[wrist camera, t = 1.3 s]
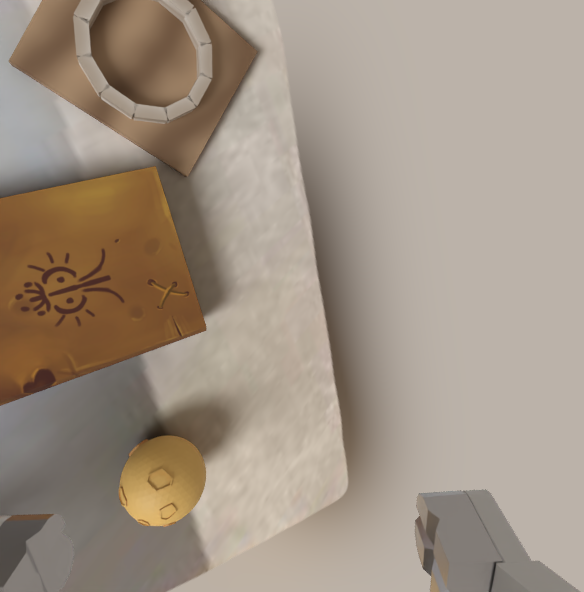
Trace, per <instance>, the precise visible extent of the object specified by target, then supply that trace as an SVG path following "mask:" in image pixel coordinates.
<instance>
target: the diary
mask: <svg viewBox="0 0 584 592" xmlns="http://www.w3.org/2000/svg"><path fill="white" fill-rule="evenodd" d="M203 331H206V324H205V321H204V318H203V315H202V312H201V309H200V305H199V302H198V299H197V296H196V293H195V289H194V286H193V283H192V280H191V277H190V274H189V270H188V267H187V264H186V261H185V258H184V254H183V251H182V248H181V245H180V242H179V239H178V235H177V232H176V229H175V226H174V223H173V219H172V216H171V213H170V210H169V207H168V204H167V200H166V197H165V194H164V191H163V188H162V184H161V181H160V178H159V175H158V172H157V169H156V166H154V167H149V168H144V169H139V170H134V171H129V172H125V173H120V174H115V175H110V176H105V177H100V178H96V179H91V180H86V181H81V182H76V183H71V184H66V185H62V186H57V187H52V188H47V189H42V190H37V191H33V192H28V193H23V194H18V195H13V196H8V197H4V198H0V406H1V405H4V404H6V403H9V402H12V401H15V400H17V399H20V398H23V397H25V396H28V395H31V394H34V393H36V392H39V391H42V390H45V389H47V388H50V387H53V386H56V385H58V384H61V383H64V382H66V381H69V380H72V379H75V378H77V377H80V376H83V375H86V374H88V373H91V372H94V371H97V370H99V369H102V368H105V367H108V366H110V365H113V364H116V363H118V362H121V361H124V360H127V359H129V358H132V357H135V356H138V355H140V354H143V353H146V352H149V351H151V350H154V349H157V348H159V347H162V346H165V345H168V344H170V343H173V342H176V341H179V340H181V339H184V338H187V337H190V336H192V335H195V334H198V333H201V332H203Z"/></svg>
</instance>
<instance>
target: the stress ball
mask: <svg viewBox="0 0 584 592" xmlns="http://www.w3.org/2000/svg"><path fill="white" fill-rule="evenodd" d="M205 481H206V468H205V463H204V460H203V458H202V456H201V454H200V452H199V450H198V449H197V448H196V447H195V446H194V445H193V444H192V443H191V442H189V441H188V440H186V439H184V438H181V437H177V436H170V435H167V436H160V437H156V438H153V439H151V440H148V439H146V440H144V441H142V442H141V443H139V444H138V445H137V446H136V447H135V448H134V449H133V450H132V451H131V452H130V453H129V459H128V460H127V462H126V464H125V466H124V468H123V471H122V474H121V479H120V487H119V498H120V501H121V504H122V506H124V507H125V508H126V510H127V511H128V513H129V514H130V515H131V516H132V517H133V518H134V519H136V520H137V521H138V523H140V524H142V525H144V526H149V525H150V526H163V525H164V527H165V526H168V525H172V524H175V523H176V521H178V520H180V519H182V518H183V517H184V516H186V515H187V514H188V513H189V512H190V511H191V510H192V509H193V508H194V507H195V505H196V504H197V502H198V501H199V499H200V497H201V495H202V492H203V490H204V486H205Z"/></svg>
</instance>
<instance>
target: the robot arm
mask: <svg viewBox="0 0 584 592" xmlns="http://www.w3.org/2000/svg"><path fill="white" fill-rule="evenodd" d="M416 507H417V509H418V512H419V515H420V516H419V517H418V518H417V519H416V520H415V537H416V546H417V550H418V554H419V558H420V561H421V564H422V567H423V569H424V570H425V571H426V572H427V573H428V574H429V575H430V576H431V585H430V592H580V591H579V590H577V589H576V588H575V587H573V586H572V585H571V584H569V583H568V582H567V581H565V580H564V579H563V578H561V577H560V576H559V575H557V574H556V573H555V572H553V571H552V570H551V569H549V568H548V567H547V566H545V565H544V564H543V563H541V562H540V561H531V559H530V557H529V556H528V554H527V552H526V551H525V549H524V547H523V546H522V545H521V542H520V541H519V539H518V538H517V536H516V534H515V533H514V531H513V529H512V528H511V526H510V524H509V523H508V521H507V519H506V518H505V516H504V514H503V513H502V511H501V509H500V508H499V506H498V504H497V503H496V501H495V499H494V498H493V496H492V495H491V493H490V492H489V491H487V490H470V491H448V492H434V493H421V494H420V493H419V494H418V496H417V504H416ZM65 526H66V524H65V522H64V520H63V517H62V515H61V514H40V515H10V516H0V592H59V591H60V590H61V589H62V588H63V587H64V585H65V583H66V581H67V579H68V577H69V575H70V572H71V568H72V564H73V560H74V546H73V543H72V540H71V539H70V538H69V537H68V536H66V535H65V534H63V533H62V531H63V529H64V527H65Z"/></svg>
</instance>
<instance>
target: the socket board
mask: <svg viewBox="0 0 584 592" xmlns="http://www.w3.org/2000/svg"><path fill="white" fill-rule="evenodd" d="M256 54H257V51H256V50H255V49H254V48H253V47H252V46H251V45H250V44H249V43H247V42H246V41H245V40H244V39H243V38H242V37H241V36H240V35H239V34H237V33H236V32H235V31H234V30H233V29H232V28H231V27H230V26H229V25H227V24H226V23H225V22H224V21H223V20H222V19H221V18H220V17H219V16H217V15H216V14H215V13H214V12H213V11H212V10H211V9H210V8H209V7H207V6H206V5H205V4H204V3H203V2H202V1H201V0H42V2H41V4H40V5H39V7H38V9H37V11H36V13H35V14H34V16H33V18H32V20H31V22H30V23H29V25H28V27H27V29H26V31H25V32H24V34H23V36H22V38H21V40H20V41H19V43H18V45H17V47H16V49H15V50H14V52H13V54H12V56H11V58H10V59H9V62H10V64H11V65H12V66H14V67H15V68H17V69H19V70H20V71H22V72H23V73H25V74H26V75H28V76H29V77H31V78H33V79H34V80H36V81H37V82H39V83H40V84H42V85H44V86H45V87H47V88H48V89H50V90H51V91H53V92H54V93H56V94H58V95H59V96H61V97H62V98H64V99H65V100H67V101H69V102H70V103H72V104H73V105H75V106H76V107H78V108H79V109H81V110H83V111H84V112H86V113H87V114H89V115H90V116H92V117H94V118H95V119H97V120H98V121H100V122H101V123H103V124H104V125H106V126H108V127H109V128H111V129H112V130H114V131H115V132H117V133H118V134H120V135H122V136H123V137H125V138H126V139H128V140H129V141H131V142H133V143H134V144H136V145H137V146H139V147H140V148H142V149H143V150H145V151H147V152H148V153H150V154H151V155H153V156H154V157H156V158H158V159H159V160H161V161H162V162H164V163H165V164H167V165H168V166H170V167H172V168H173V169H175V170H176V171H178V172H179V173H181V174H183V175H184V176H186V177H187V176H188V175H189V173H190V172H191V170H192V168H193V166H194V164H195V163H196V161H197V159H198V157H199V156H200V154H201V152H202V150H203V148H204V147H205V145H206V143H207V141H208V139H209V138H210V136H211V134H212V132H213V130H214V129H215V127H216V125H217V123H218V122H219V120H220V118H221V116H222V114H223V113H224V111H225V109H226V107H227V105H228V104H229V102H230V100H231V98H232V96H233V95H234V93H235V91H236V89H237V88H238V86H239V84H240V82H241V80H242V79H243V77H244V75H245V73H246V71H247V70H248V68H249V66H250V64H251V62H252V61H253V59H254V57H255V55H256Z"/></svg>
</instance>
